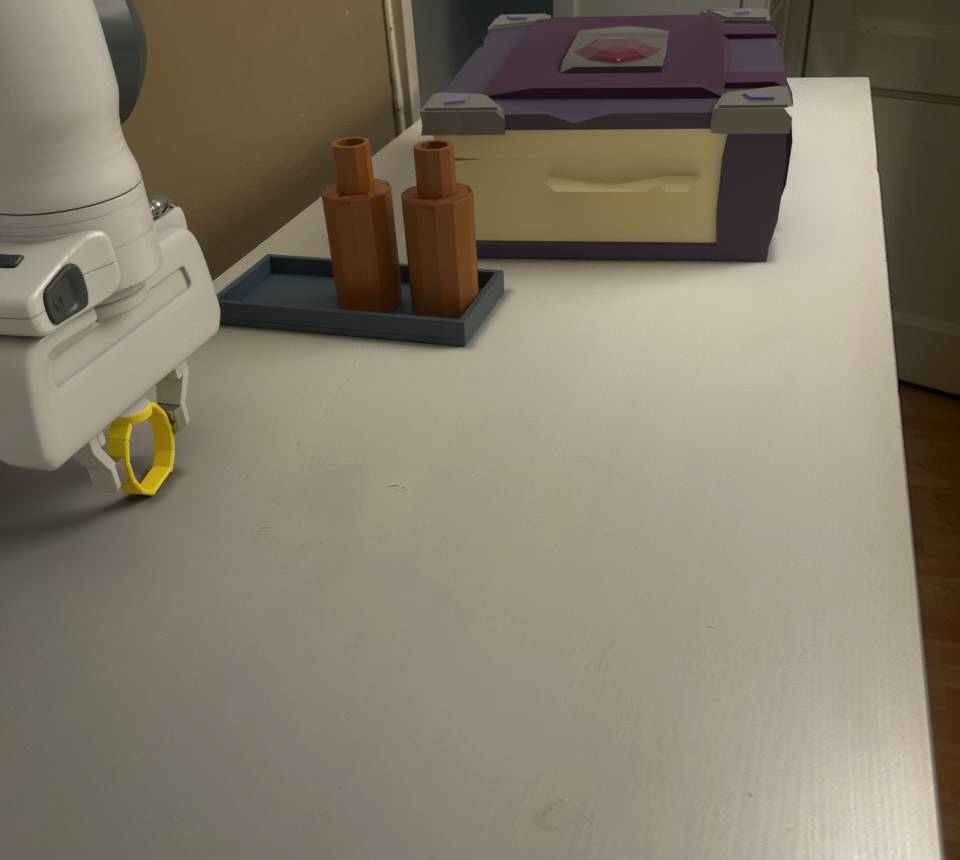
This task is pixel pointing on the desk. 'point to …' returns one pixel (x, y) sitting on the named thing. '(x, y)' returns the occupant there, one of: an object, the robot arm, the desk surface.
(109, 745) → the desk surface
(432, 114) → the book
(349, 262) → the bottle mid
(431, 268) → the bottle far
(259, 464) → the desk surface
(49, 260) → the robot arm
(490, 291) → the tray
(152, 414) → the watch
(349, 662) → the desk surface
